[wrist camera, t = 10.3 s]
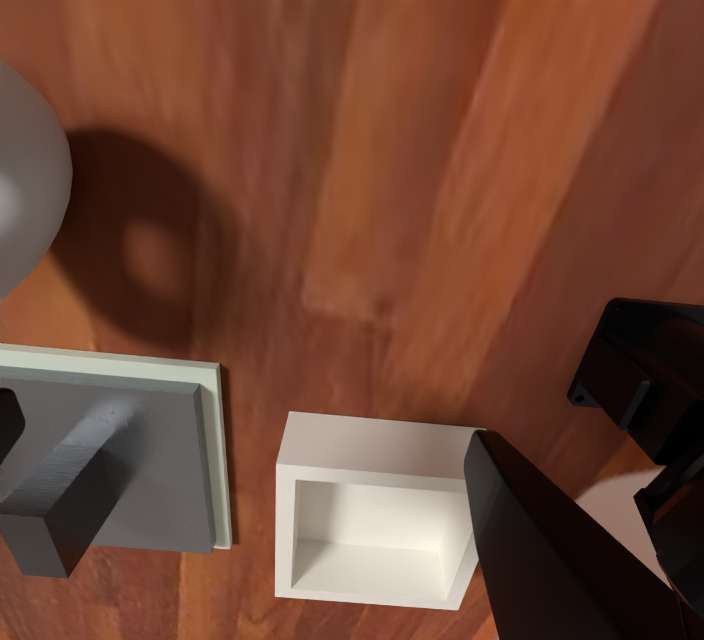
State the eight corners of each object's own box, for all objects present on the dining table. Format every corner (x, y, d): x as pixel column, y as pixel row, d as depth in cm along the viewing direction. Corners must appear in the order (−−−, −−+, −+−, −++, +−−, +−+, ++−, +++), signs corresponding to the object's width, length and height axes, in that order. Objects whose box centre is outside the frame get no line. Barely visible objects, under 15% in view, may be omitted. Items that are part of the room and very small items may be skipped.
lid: (199, 383, 21) (151, 460, 16) (216, 540, 27) (185, 629, 23) (-57, 360, 21) (-186, 432, 16) (20, 524, 27) (-56, 612, 22)
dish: (486, 428, 23) (509, 483, 19) (445, 549, 28) (457, 610, 25) (289, 411, 23) (276, 463, 19) (286, 537, 28) (275, 596, 25)
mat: (219, 363, 21) (215, 369, 21) (232, 541, 28) (230, 549, 28) (-73, 336, 21) (-84, 342, 20) (15, 524, 28) (9, 531, 27)
